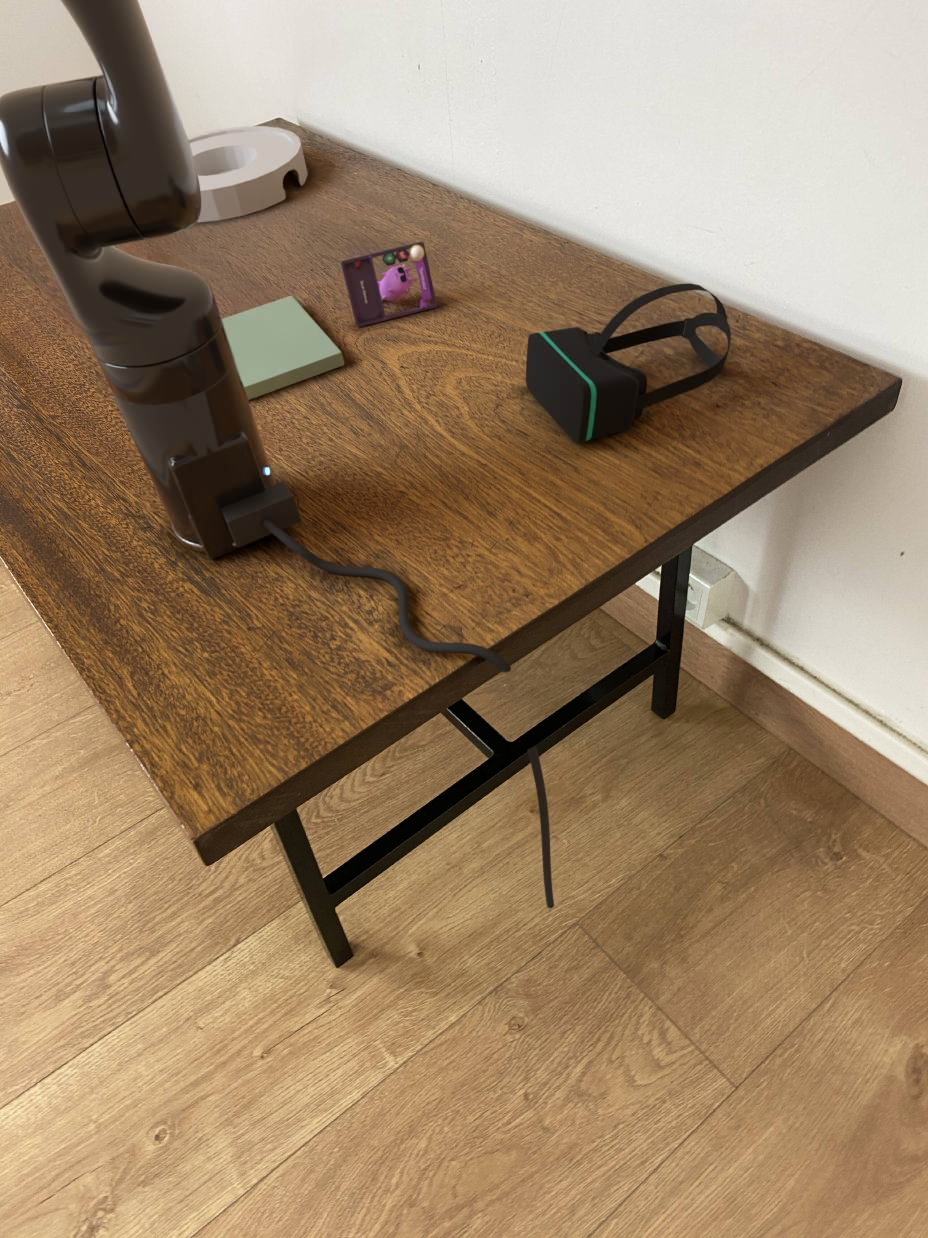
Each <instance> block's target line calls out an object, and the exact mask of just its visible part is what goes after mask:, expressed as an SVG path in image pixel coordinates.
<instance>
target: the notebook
mask: <svg viewBox="0 0 928 1238" xmlns="http://www.w3.org/2000/svg"><path fill="white" fill-rule="evenodd" d="M222 321H223V324H224V327H225V330H226V333H227V336H228V339H229V342H230V345H231V348H232V351H233V355H234V358H235V361H236V364H237V367H238V370H239V373H240V376H241V379H242V382H243V385H244V388H245V391H246V394H247V397H248V400H249V401H250V400H253V399H256V398H258V397H261V396H264V395H267V394H269V393H272V392H275V391H277V390H280V389H283V388H285V387H288V386H291V385H294V384H297V383H299V382H302V381H305V380H308V379H311V378H313V377H316V376H318V375H321V374H324V373H326V372H327V373H328V372H329V371H332V370H335V369H337V368H340V367H343V366H345V361H344V355H343V352H342V351H341V350H340V348H339V347H338V346H337V345H336V344H335V343H334V342H333V341H332V339H330V337H329V336H328V335H327V334H326V333H325V332H324V330H323V329H322V328H321V327H320V326H319V325H318V323H316V321H315V320H314V319H313V318H312V317H311V316H310V315H309V314H308V312H307V311H306V310H305V309H304V307H302V306H301V305H300V304H299V302H298V301H297V299H296V298H294V297H293V295H289V296H286V297H283V298H280V299H277V300H273V301H271V302H268V303H265V304H262V305H259V306H256V307H253V308H250V309H247V310H245V311H241V312H239V313H235V314H233V315H229V316H227V317H224V318H222Z"/></svg>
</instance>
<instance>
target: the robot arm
mask: <svg viewBox="0 0 928 1238" xmlns="http://www.w3.org/2000/svg"><path fill="white" fill-rule="evenodd" d="M60 2H61V3H62V5H63V7H64V8H65V9H66V11H67V12H68V14H69V15H70V17H71V19H72V20H73V22H74V23H75V25H76V26H77V28H78V30H79V31H80V33H81V35H82V37H83V39H84V41H85V42H86V45H87V46H88V47H89V49H90V51H91V53H92V55H93V57H94V59H95V61H96V63H97V65H98V67H99V69H100V71H101V74H99V75H93V76H87V77H82V78H75V79H69V80H65V81H58V82H52V83H48V84H43V85H37V86H30V87H25V88H21V89H15V90H12V91H9V92H6V93H4V94H2V95H1V96H0V168H1V171H2V173H3V175H4V178H5V180H6V183H7V185H8V187H9V190H10V192H11V194H12V196H13V199H14V201H15V202H16V206H17V207H18V209H19V211H20V213H21V215H22V217H23V219H24V221H25V223H26V225H27V226H28V229H29V230H30V232H31V234H32V236H33V238H34V240H35V241H36V244H37V245H38V247H39V249H40V251H41V253H42V255H43V256H44V258H45V260H46V262H47V264H48V266H49V268H50V270H51V272H52V274H53V276H54V277H55V279H56V282H57V284H58V285H59V288H60V290H61V291H62V294H63V296H64V298H65V300H66V302H67V304H68V306H69V308H70V311H71V314H72V316H73V317H74V319H75V320H76V323H77V324H78V325H79V327H80V328H81V330H82V332H83V334H84V335H85V336H86V338H87V340H88V343H89V345H90V347H91V350H92V352H93V354H94V356H95V358H96V360H97V363H98V365H99V367H100V370H101V371H102V374H103V376H104V378H105V380H106V382H107V384H108V386H109V389H110V392H111V394H112V396H113V398H114V401H115V403H116V405H117V407H118V410H119V412H120V414H121V416H122V418H123V421H124V422H125V425H126V427H127V429H128V431H129V433H130V435H131V438H132V440H133V442H134V444H135V447H136V449H137V452H138V453H139V455H140V458H141V460H142V462H143V464H144V467H145V469H146V471H147V474H148V476H149V478H150V480H151V482H152V484H153V486H154V488H155V490H156V493H157V495H158V498H159V500H160V502H161V504H162V505H163V507H164V510H165V512H166V514H167V517H168V519H169V520H170V522H171V528H172V531H173V533H174V535H175V537H176V539H177V540H178V542H179V543H181V545H183V546H184V547H185V548H188V549H190V550H193V551H195V552H200V553H204V554H205V555H206V556H207V558H208V559H209V560H214V559H216V558H219V557H222V556H225V555H226V554H229V553H231V552H235V551H237V550H239V549H242V548H244V547H248V546H249V545H251V544H253V543H256V542H258V541H261V540H263V539H265V538H268V537H270V536H275V537H276V538H277V539H278V540H279V541H281V542H282V543H283V544H284V545H285V546H287V547H288V548H289V549H290V550H292V551H293V552H295V553H296V554H297V555H298V556H300V557H301V558H303V559H304V560H305V561H307V562H308V563H310V564H311V565H313V566H314V567H317V568H318V569H321V570H323V571H325V572H327V573H331V574H334V575H338V576H339V575H340V576H348V577H367V578H376V579H379V580H380V579H381V580H383V581H385V582H387V583H389V584H390V586H392V587H393V588H394V590H395V592H396V594H397V600H398V620H399V621H398V622H399V627H400V630H401V634H403V636H404V637H405V639H406V640H408V642H410V643H411V645H413V646H415V647H417V648H418V649H421V650H423V651H426V652H431V653H435V654H436V653H437V654H460V655H461V654H463V655H470V656H476V657H480V658H482V659H484V660H486V661H488V662H489V663H490V664H492V665H494V667H496V668H497V669H498V670H499V671H501V672H502V673H509V672H511V670H512V666H511V665H510V664H509V663H508V662H507V661H506V660H505V658H503V657H501V656H500V655H499V654H498V653H496V652H494V651H493V650H491V649H489V648H487V647H485V646H482V645H478V644H474V643H468V642H467V643H466V642H437V641H431V640H427V639H425V638H422V637H421V636H419V635H418V634H417V633H416V632H415V631H414V630H413V628H412V626H411V624H410V618H409V598H408V596H409V595H408V591H407V589H406V586H405V584H404V583H403V581H402V580H401V579H400V578H399V577H397V576H396V575H394V574H393V573H391V572H390V571H387V570H385V569H381V568H377V567H369V566H368V567H367V566H348V565H340V564H336V563H332V562H330V561H327V560H324V559H323V558H321V557H319V556H317V555H316V554H315V553H313V552H312V551H310V550H309V549H308V548H307V547H305V546H304V545H302V544H301V543H299V542H298V541H297V540H295V539H294V537H293V538H292V536H290V535H289V534H288V533H287V532H286V531H284V529H287V528H289V527H291V526H294V525H297V524H299V523H301V522H302V520H301V516H300V512H299V510H298V506H297V503H296V500H295V497H294V495H293V493H292V491H291V490H290V488H289V486H288V485H287V484H286V483H285V481H284V480H282V481H280V482H276V479H275V476H274V472H273V469H272V466H271V462H270V461H269V458H268V454H267V451H266V449H265V445H264V443H263V439H262V437H261V434H260V431H259V428H258V425H257V421H256V419H255V415H254V413H253V409H252V406H251V404H250V400H248V397H247V394H246V391H245V388H244V385H243V382H242V379H241V376H240V373H239V370H238V367H237V364H236V361H235V358H234V355H233V351H232V348H231V345H230V342H229V339H228V336H227V333H226V330H225V327H224V324H223V321H222V319H223V318H222V316H221V312H220V309H219V306H218V302H217V300H216V297H215V294H214V292H213V289H212V288H211V286H210V284H209V283H208V281H207V280H206V279H205V278H204V277H203V276H202V275H200V274H199V273H197V272H195V271H193V270H190V269H188V268H184V267H181V266H177V265H171V264H166V263H160V262H155V261H151V260H147V259H144V258H141V257H138V256H134V255H132V254H130V253H128V252H125V251H124V250H122V249H120V248H118V247H116V246H119V245H126V244H130V243H136V242H141V241H146V240H147V241H148V240H151V239H152V240H153V239H156V238H161V237H167V236H171V235H175V234H179V233H183V232H185V231H188V230H190V229H192V228H194V226H196V224H197V223H198V222H197V221H198V219H199V216H200V213H201V192H200V184H199V178H198V174H197V169H196V165H195V161H194V158H193V154H192V151H191V148H190V144H189V141H188V135H187V132H186V129H185V127H184V123H183V121H182V117H181V115H180V112H179V109H178V106H177V104H176V100H175V98H174V95H173V93H172V90H171V87H170V84H169V82H168V79H167V76H166V73H165V71H164V67H163V65H162V62H161V60H160V56H159V54H158V51H157V48H156V46H155V44H154V41H153V37H152V35H151V33H150V30H149V26H148V24H147V21H146V18H145V16H144V12H143V10H142V8H141V5H140V1H139V0H60ZM537 748H538V747H537V745H534V746H531V747H530V748H528V749H527V754H528V758H529V762H530V766H531V770H532V775H533V780H534V784H535V789H536V791H535V792H536V796H537V804H538V811H539V822H540V823H539V824H540V835H541V838H540V839H541V855H542V856H541V857H542V873H543V874H542V875H543V886H544V894H545V902H546V907H547V908H548V909H553V908H554V907H555V901H554V893H553V892H554V891H553V881H552V880H553V879H552V861H551V859H552V858H551V837H550V836H551V834H550V832H551V831H550V829H551V828H550V816H549V807H548V798H547V792H546V785H545V780H544V775H543V770H542V765H541V761H540V755H539V752H538V749H537Z"/></svg>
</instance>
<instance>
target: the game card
mask: <svg viewBox="0 0 928 1238" xmlns="http://www.w3.org/2000/svg"><path fill="white" fill-rule="evenodd" d="M408 250H409V251H408ZM378 257H382V259H381V260H382V262H383V263H384V264H385V265H386V267H390V266H391V267H390V268H389V269H388V270H387V271H385V272H382V273H381V275H382V276H383V277H382V279H381V280H379V281H378V278H377V273H376V270H375V265H374V261H373V258H378ZM409 258H411V259H412V261H413V262H414V265H415V269H416V273H417V276H418V279H417V278H416V277H411V274H410V273H409V272H410V271H411V270H414V267H409V266H407V267H405V265H406V262H408V260H409ZM396 261H398V263H400V264H399V265H396V266H393V265H395V264H396ZM402 263H404V264H403V265H402V266H401V264H402ZM340 266H341V270H342V275H343V278H344V283H345V285H346V289H347V294H348V297H349V298H348V299H349V303H350V306H351V310H352V314H353V318H354V322H355V325H356V327H358V328H361V327H364V326H369V325H372V324H375V323H376V324H377V323H380V322H384V321H388V320H391V319H396V318H400V317H403V316H408V315H411V314H415V313H419V312H423V311H427V310H430V309H434V308H437V306H438V305H437V303H438V302H437V299H436V298H437V297H436V294H435V289H434V284H433V281H432V280H433V279H432V275H431V274H432V273H431V270H430V265H429V261H428V256H427V251H426V246H425V243H424V242H423V241H418V242H414V243H410V244H406V245H401V246H397V247H394V248H389V249H385V250H381V251H377V252H373V253H369V254H365V255H361V256H356V257H353V258H349V259H344V260H341V261H340ZM417 280H418V281H419V286H420V291H421V299H420V300H419V306H418V307H415V308H411V309H406V310H404V311H398V312H395V313H391V314H386V313H385V312H386V311H385V308H384V304H383V303H384V302H383V301H385V300H386V301H387V302H397V301H400V300H402V299H404V298H406V297H407V295H409V293H410V291H411V289H413V281H415V282H416V281H417ZM428 300H430V301H431V303H430V304H427V301H428Z"/></svg>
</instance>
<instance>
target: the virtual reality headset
mask: <svg viewBox="0 0 928 1238" xmlns="http://www.w3.org/2000/svg"><path fill="white" fill-rule="evenodd" d="M687 291H701V292H706V293H709V295H710V296H711V297H712V298H713V300H714V302H715V306H716V312H709V311H708V312H702V313H701V312H700V313H699V314H696V315H695V316H694V317H685V318H684V319H683V320H677V321H670V322H665V323H662V324H658V325H654V326H651V327H646V328H642V329H639V330H635V331H631V332H627V333H624V334H621V335H617V336H613V335H614V333H615V332H616V331H617V330H618V328H619V327H620V326H621V325H622V324H623V323H624V322H625V321H626V320H627V319H628V318H629V317H630V316H631V315H632V314H634V313H636V312H637V311H638V310H639V309H641V308H642V307H644V306H646V305H648V304H649V303H651V302H653V301H656V300H659V299H661V298H664V297H666V296H668V295H672V294H673V295H674V294H676V293H681V292H687ZM701 327H716V328H718V329H719V330H720V331H722V332H723V333H724V334H725V336H726V339H727V350H726V352H725V354H724V356H723V357H721V356H720V355H718V354H717V353H716V352H714V351H713V350H712V349H711V348H710V347H709V346H708V345H707V344H706V343H705V342H704V341H703V340H702V339H701V337H699V336H698V334H697V331H696V330H697V329H698V328H701ZM612 336H613V337H612ZM674 337H682V338H683V339H685V340H688V341H689V344H690V346H691V348H692V350H694V352H695V354H696V355H697V356H698V358H699V359H700V360H701V361H702V362H703V363H704V364H705V365H706V366H708V368H706V370H703V371H701V372H698V373H695V374H693V375H690V376H687V377H684V378H681V379H679V380H676V381H673V382H671V383H668V384H665V385H663V386H661V387H658V388H655V389H653V390H650V391H647V388H648V387H647V386H648V376H647V375H646V374H645V373H644V372H643V371H642V370H640V369H637V368H634V367H632V366H630V365H627V364H624V363H623V362H620V361H618V360H617V359H614V358H613V357H611V356H610V355H609V354H610V353H615V352H618V351H621V350H625V349H629V348H632V347H635V346H639V345H643V344H647V343H652V342H657V341H660V340H665V339H669V338H674ZM731 339H732V331H731V328H730V323H729V322H728V316H727V313H726V309H725V306H724V305H723V303H722V301H721V300H720V299H719V298H718V296H716V295H714V294H713V293H712V292H711V291H709V290H708V289H706V288H705V287H703V286H701V284H696V283H695V284H694V283H689V282H688V283H678V284H672V285H671V284H670V285H666V286H663V287H662V286H661V287H659V288H656V289H654V290H651V291H649V292H647V293H645V294H642V295H640V296H639V297H637V298H634V299H633V300H631V301H630V302H628V303H627V304H626V305H625V306H624V307H622V308H621V309H620V310H619V311H618V312H617V313H616V314H615V315H614V316H613V317H612V318H611V320H609V322H608V323H607V324H606V325H605V327H604V328H603V329H602V330H601V332H600V331H594V333H588V331H586V330H585V329H582V328H581V327H579V326H574V327H567V328H561V329H554V330H547V331H540V332H534V333H533V332H532V333H530V334H529V335H528V339H527V348H526V361H525V383H526V389H527V390H528V391H529V393H530V394H531V395H532V396H533V397H534V398H535V400H536V401H537V402H538V403H539V404H540V406H541V407H543V409H544V410H545V411H546V412H547V414H549V416H550V417H551V419H553V420H554V422H555V423H556V424H557V425H558V426H559V428H561V429H562V431H563V432H564V433H565V434H566V435H567V437H569V439H570V440H572V442H573V443H574V444H581V443H584V442H589V441H591V440H595V439H598V438H603V437H607V436H609V435H613V434H617V433H620V432H624V431H627V430H629V429H630V428H631V427H632V424H633V421H635V420H637V419H639V418H641V417H642V415H643V410H644V409H646V408H649V407H651V406H654V405H657V404H659V403H662V402H664V401H667V400H670V399H673V398H675V397H678V396H680V395H682V394H685V393H688V392H691V391H694V390H696V389H697V388H700V387H702V386H703V385H705V384H708V383H710V382H711V381H712V380H714V379H715V378H716V377H717V376H718V375H720V373H721V372H722V371H723V370H724V368H725V367H724V366H725V364H726V362H727V359H728V356H729V353H730V347H731Z"/></svg>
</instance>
